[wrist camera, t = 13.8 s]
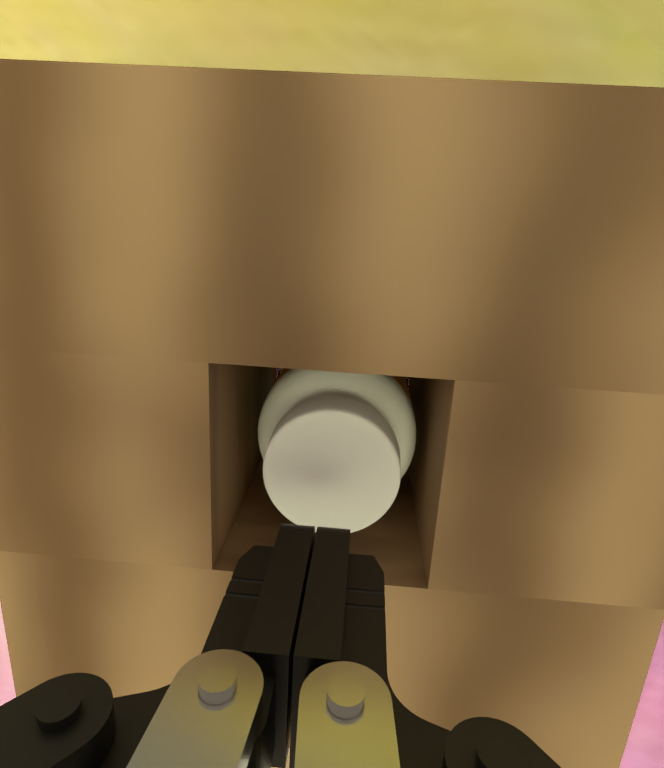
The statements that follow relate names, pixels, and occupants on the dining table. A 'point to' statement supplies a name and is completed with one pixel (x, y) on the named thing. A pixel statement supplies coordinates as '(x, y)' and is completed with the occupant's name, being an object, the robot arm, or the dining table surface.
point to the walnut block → (338, 369)
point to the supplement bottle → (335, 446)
